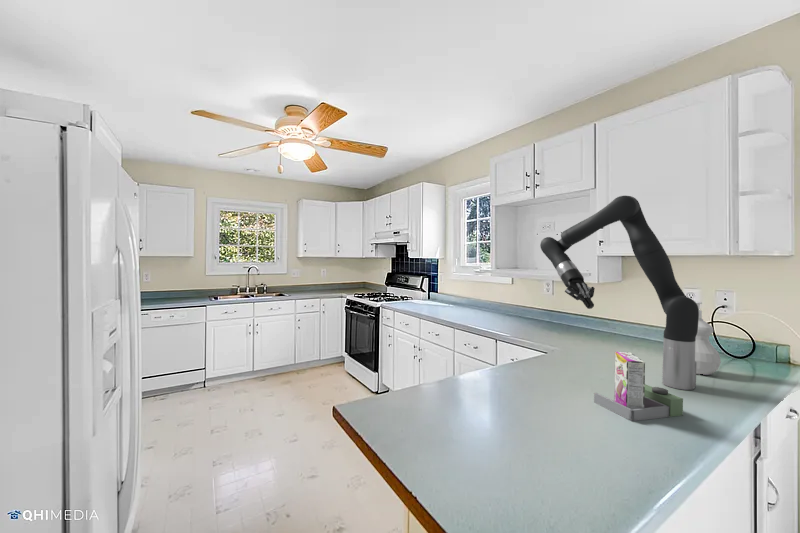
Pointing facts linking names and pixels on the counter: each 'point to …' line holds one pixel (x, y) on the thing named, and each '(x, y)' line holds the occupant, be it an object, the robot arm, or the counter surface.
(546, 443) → the counter surface
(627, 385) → the candy bar box
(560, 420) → the counter surface
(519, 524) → the counter surface
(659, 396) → the frame with green block
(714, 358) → the soap bottle
